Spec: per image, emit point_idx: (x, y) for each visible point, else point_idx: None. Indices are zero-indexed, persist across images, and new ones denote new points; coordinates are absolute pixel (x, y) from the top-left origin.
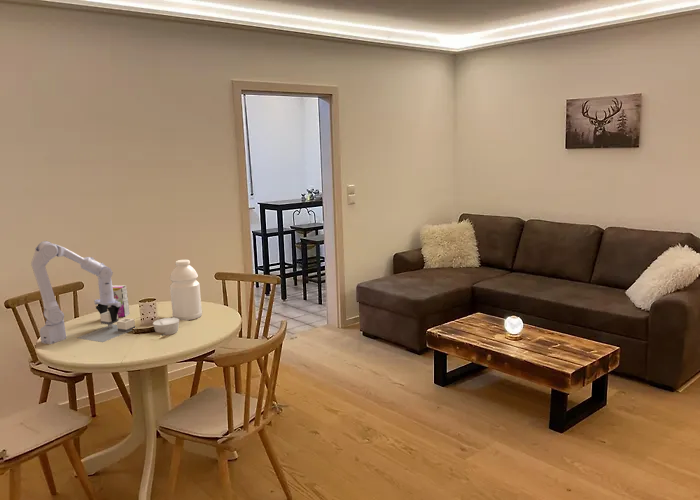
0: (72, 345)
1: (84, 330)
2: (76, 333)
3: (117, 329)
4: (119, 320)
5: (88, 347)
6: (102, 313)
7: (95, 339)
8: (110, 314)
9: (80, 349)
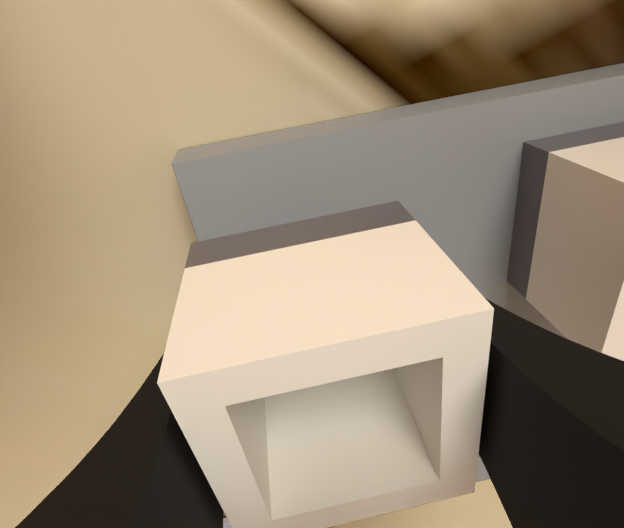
0: (349, 524)
1: (13, 389)
2: (66, 454)
3: (461, 257)
4: (616, 329)
5: (485, 486)
6: (249, 520)
7: (477, 467)
8: (494, 469)
9: (463, 515)
